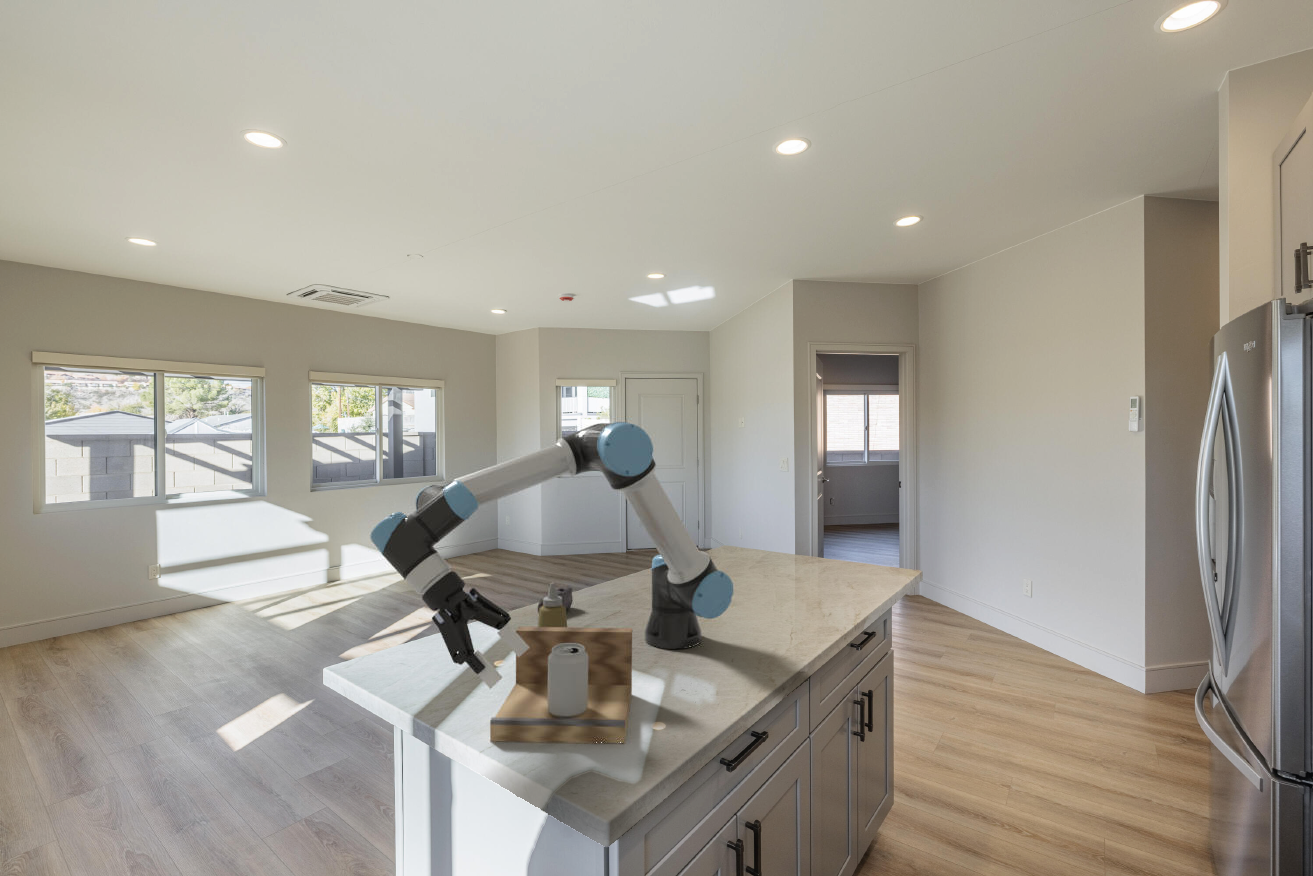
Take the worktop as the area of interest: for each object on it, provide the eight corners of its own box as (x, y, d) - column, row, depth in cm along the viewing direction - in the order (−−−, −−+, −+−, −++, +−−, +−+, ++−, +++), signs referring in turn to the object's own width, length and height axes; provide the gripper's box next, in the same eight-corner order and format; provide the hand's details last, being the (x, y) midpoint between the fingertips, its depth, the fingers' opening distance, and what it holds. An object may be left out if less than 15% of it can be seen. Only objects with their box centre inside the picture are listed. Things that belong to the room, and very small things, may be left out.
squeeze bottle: (575, 653, 148) (575, 581, 148) (556, 664, 141) (557, 589, 141) (548, 648, 152) (548, 578, 152) (528, 658, 144) (529, 585, 144)
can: (590, 718, 108) (591, 653, 108) (548, 723, 106) (549, 656, 106) (585, 700, 115) (586, 639, 115) (546, 704, 113) (547, 642, 113)
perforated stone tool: (544, 621, 174) (544, 597, 174) (531, 618, 177) (531, 594, 176) (577, 608, 186) (578, 586, 186) (565, 606, 189) (565, 584, 189)
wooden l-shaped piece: (631, 694, 125) (632, 628, 125) (624, 743, 105) (625, 665, 105) (518, 692, 125) (519, 626, 125) (490, 741, 105) (490, 663, 105)
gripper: (454, 577, 125) (521, 652, 124) (384, 618, 101) (467, 712, 99) (478, 554, 124) (546, 629, 123) (414, 589, 100) (498, 684, 98)
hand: (511, 667), depth 111 cm, fingers open, 13 cm apart
